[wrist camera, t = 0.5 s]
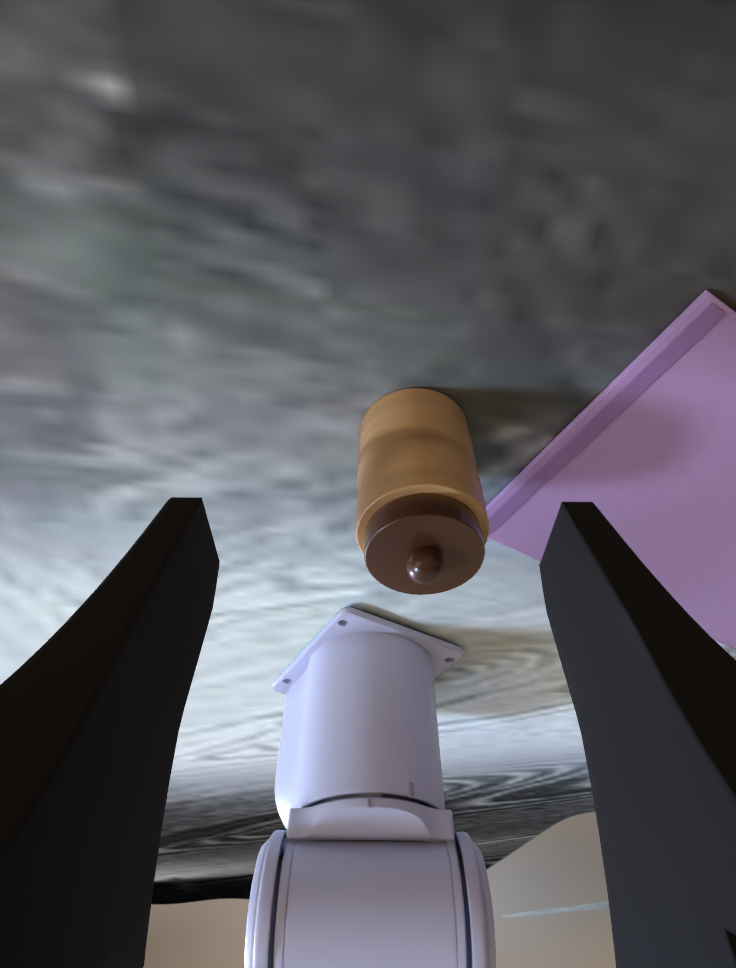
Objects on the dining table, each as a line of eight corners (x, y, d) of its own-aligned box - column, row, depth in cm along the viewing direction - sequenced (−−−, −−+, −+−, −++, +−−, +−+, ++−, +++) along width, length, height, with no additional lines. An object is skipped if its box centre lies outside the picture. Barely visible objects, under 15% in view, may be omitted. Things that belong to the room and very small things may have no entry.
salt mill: (427, 490, 25) (442, 637, 19) (339, 448, 23) (328, 595, 18) (490, 419, 22) (530, 564, 17) (396, 368, 21) (405, 508, 15)
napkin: (742, 649, 33) (745, 655, 33) (467, 524, 26) (468, 530, 26) (998, 512, 26) (1005, 518, 25) (705, 288, 19) (710, 293, 19)
